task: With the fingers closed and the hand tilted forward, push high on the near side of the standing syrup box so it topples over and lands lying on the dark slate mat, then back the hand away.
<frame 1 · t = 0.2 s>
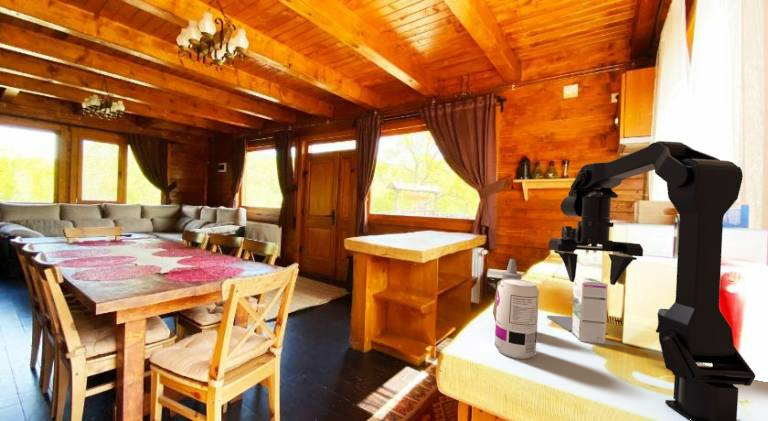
hand: (592, 283, 76), 14 cm above the countertop, tool pointing down, fingers open, 9 cm apart
syrup box: (587, 339, 79), on the countertop
slate mat: (575, 325, 88), on the countertop
squeeze bottle: (508, 329, 83), on the countertop
supplement can: (514, 352, 69), on the countertop
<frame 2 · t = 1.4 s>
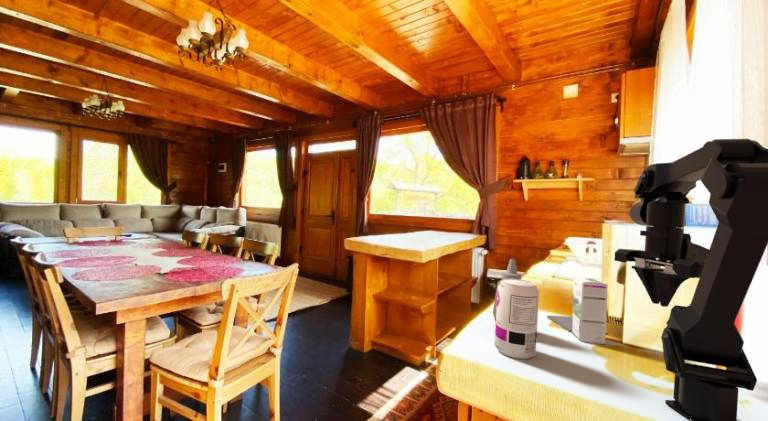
hand: (659, 304, 64), 13 cm above the countertop, tool pointing down, fingers closed
nothing on the countertop moved.
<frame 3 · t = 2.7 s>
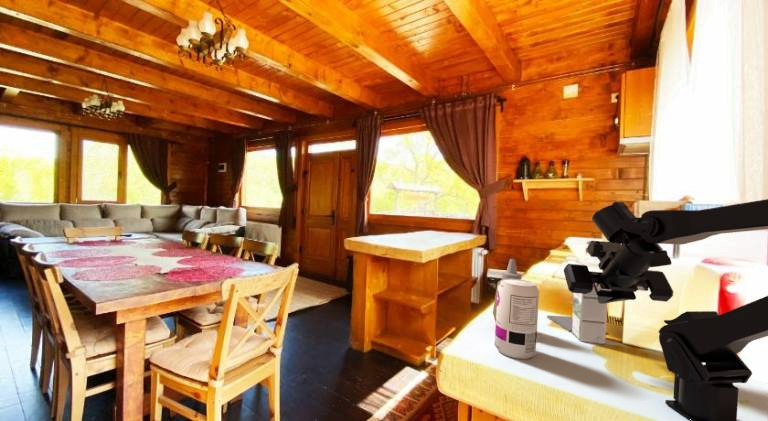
hand: (600, 301, 73), 11 cm above the countertop, tool tilted 45°, fingers closed
nothing on the countertop moved.
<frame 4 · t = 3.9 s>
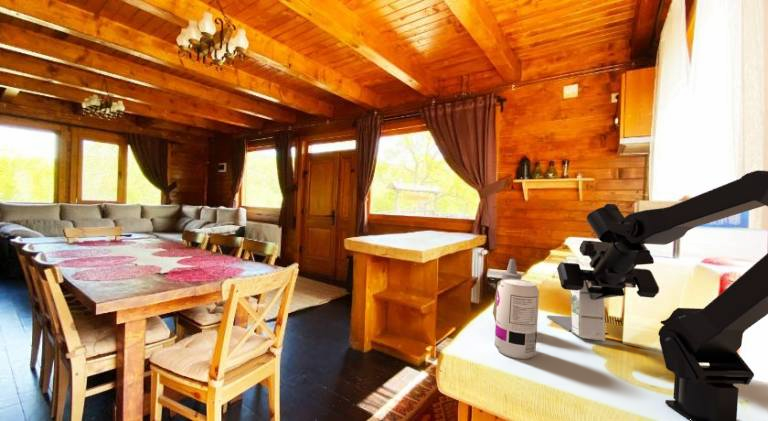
hand: (591, 298, 78), 10 cm above the countertop, tool tilted 45°, fingers closed
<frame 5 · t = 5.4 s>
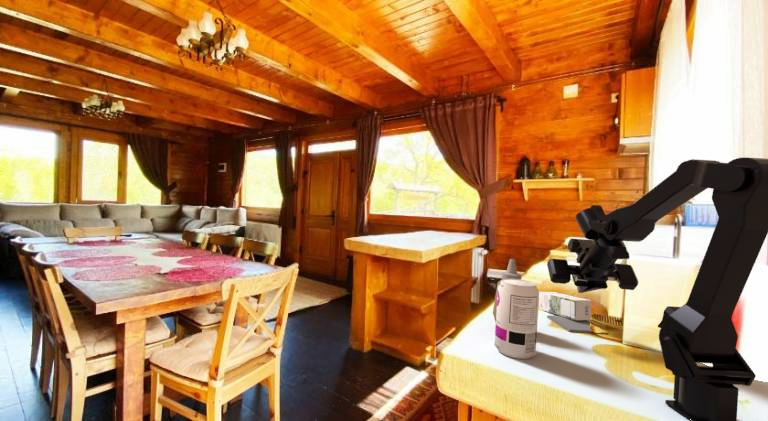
hand: (579, 291, 85), 10 cm above the countertop, tool tilted 45°, fingers closed
syrup box: (584, 310, 90), point 4 cm above the countertop, touching slate mat
everything else where it was.
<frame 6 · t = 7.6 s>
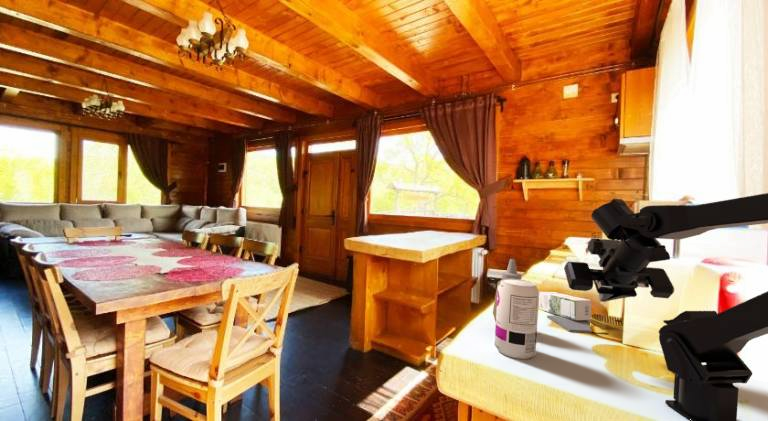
hand: (601, 299, 73), 11 cm above the countertop, tool tilted 45°, fingers closed
nothing on the countertop moved.
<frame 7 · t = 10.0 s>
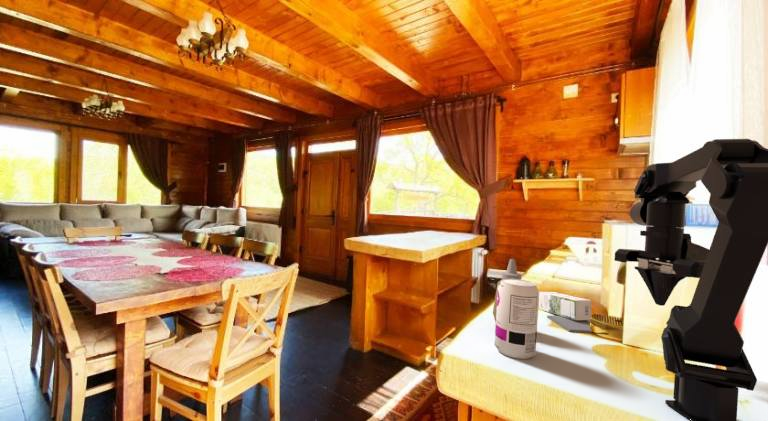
hand: (660, 305, 64), 13 cm above the countertop, tool pointing down, fingers closed
nothing on the countertop moved.
at the end: syrup box tilted 95°; syrup box inside the target area (2.9 cm from its centre), point 3.9 cm above the countertop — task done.
